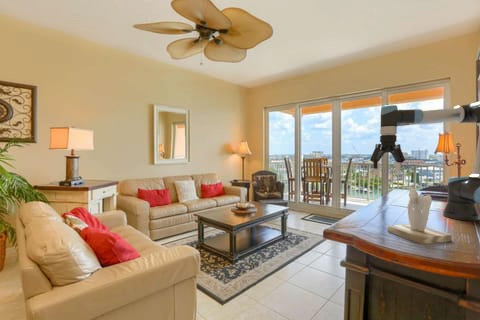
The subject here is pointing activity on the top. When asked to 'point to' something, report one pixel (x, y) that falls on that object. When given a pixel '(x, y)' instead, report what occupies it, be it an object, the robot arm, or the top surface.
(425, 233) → the striped wooden trivet
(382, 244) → the top surface
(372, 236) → the top surface
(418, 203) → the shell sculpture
